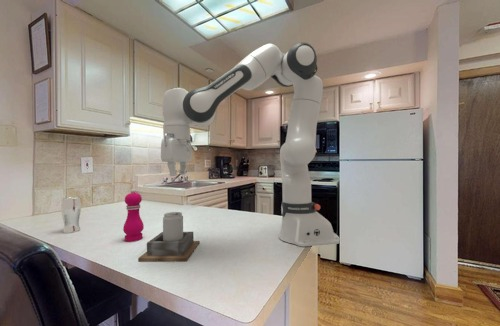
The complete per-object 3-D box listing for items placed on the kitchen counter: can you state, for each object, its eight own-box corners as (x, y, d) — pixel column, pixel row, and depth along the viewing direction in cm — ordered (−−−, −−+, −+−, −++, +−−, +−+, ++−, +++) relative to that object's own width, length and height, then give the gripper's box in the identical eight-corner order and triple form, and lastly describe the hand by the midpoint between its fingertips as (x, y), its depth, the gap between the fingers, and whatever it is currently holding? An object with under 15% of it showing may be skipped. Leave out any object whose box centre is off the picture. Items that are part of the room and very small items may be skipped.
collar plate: (199, 243, 82) (199, 230, 82) (187, 261, 67) (186, 244, 67) (159, 243, 82) (159, 230, 82) (138, 261, 67) (138, 245, 67)
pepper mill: (147, 237, 90) (147, 188, 90) (131, 243, 83) (131, 190, 83) (135, 235, 93) (135, 187, 93) (119, 240, 86) (118, 189, 86)
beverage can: (175, 254, 70) (175, 216, 70) (158, 251, 72) (158, 214, 72) (187, 247, 76) (187, 212, 76) (171, 245, 78) (171, 210, 78)
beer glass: (57, 232, 98) (57, 199, 98) (75, 228, 104) (74, 196, 105) (67, 234, 95) (67, 199, 96) (84, 229, 102) (84, 197, 102)
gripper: (175, 130, 66) (176, 176, 66) (193, 138, 87) (195, 173, 87) (154, 131, 67) (155, 177, 67) (178, 139, 87) (179, 174, 87)
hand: (178, 175), depth 77 cm, fingers open, 8 cm apart
